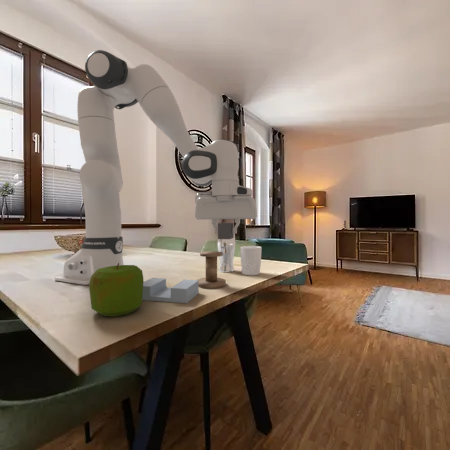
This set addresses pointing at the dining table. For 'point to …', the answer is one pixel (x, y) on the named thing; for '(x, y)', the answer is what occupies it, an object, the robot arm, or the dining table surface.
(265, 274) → the dining table surface
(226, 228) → the tab
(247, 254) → the white cup
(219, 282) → the bobbin
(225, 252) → the beer glass
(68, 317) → the dining table surface
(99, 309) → the apple
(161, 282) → the notch board
